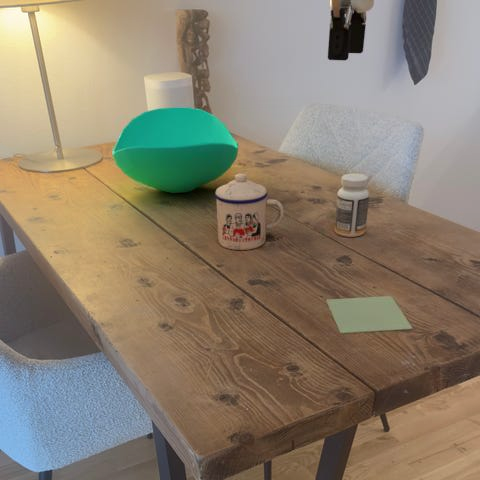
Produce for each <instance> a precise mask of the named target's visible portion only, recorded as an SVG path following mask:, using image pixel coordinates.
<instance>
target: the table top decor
mask: <svg viewBox="0 0 480 480" xmlns="http://www.w3.org/2000/svg"><path fill="white" fill-rule="evenodd" d="M238 152H239V143H238V142H237V140H236V139H235V138H234V137H233V135H232V134H231V132H230V131H229V129H228V127H227V126H226V125H225V124H224V123H223V122H222V121H221V120H220V119H219V118H217V116H216V115H213V114H212V113H209V112H207V111H206V110H203V109H201V108H195V107H188V106H187V107H186V106H184V107H183V106H181V107H180V106H179V107H178V106H177V107H176V106H175V107H161V108H155V109H150V110H145V111H143V112H142V113H139V115H137V116H135V117H133V118H132V119H130V121H129V122H128V123H127V124H126V125H125V127H124V128H123V129H122V130H121V132H120V134H119V137H118V138H117V141H116V143H115V145H114V147H113V148H112V149H111V153H112V158H113V160H114V163H115V165H116V166H117V167H118V169H120V170H121V172H123V174H125V175H126V176H127V177H129V178H130V179H132V180H133V181H135V182H137V183H139V184H142V185H144V186H146V187H150V188H152V189H156V190H158V191H163V192H165V191H166V193H169V192H170V193H169V194H179V193H180V194H181V193H188V192H189V193H190V192H192V191H194V190H195V189H196V188H197V189H198V188H199V187H202V186H205V185H208V184H210V183H211V182H213V181H216V180H217V179H219V178H221V177H222V176H223V175H224V174H225V173H226V172H227V171H228V170H229V169H230V168H232V166H233V165H234V163H235V162H236V160H237V157H238Z"/></svg>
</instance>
